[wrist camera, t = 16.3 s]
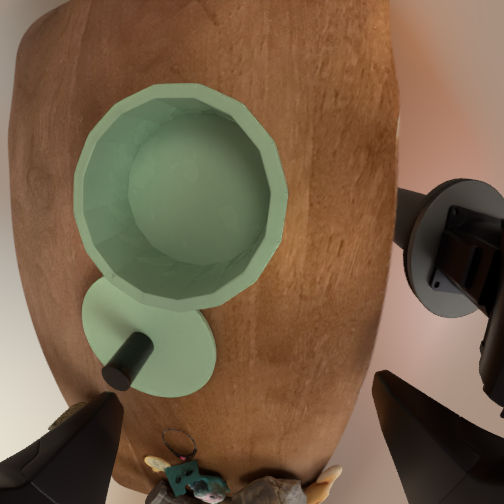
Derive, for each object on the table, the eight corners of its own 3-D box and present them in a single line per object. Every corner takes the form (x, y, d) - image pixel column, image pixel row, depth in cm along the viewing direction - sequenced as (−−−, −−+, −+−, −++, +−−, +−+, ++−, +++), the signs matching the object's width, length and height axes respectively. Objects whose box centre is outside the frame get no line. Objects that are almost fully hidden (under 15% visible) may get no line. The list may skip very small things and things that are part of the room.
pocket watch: (146, 451, 31) (145, 454, 30) (173, 462, 31) (172, 465, 30) (143, 466, 32) (142, 468, 32) (167, 476, 33) (166, 478, 32)
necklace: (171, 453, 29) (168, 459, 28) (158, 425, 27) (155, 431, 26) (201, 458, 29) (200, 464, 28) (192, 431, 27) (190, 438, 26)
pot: (297, 112, 17) (302, 91, 11) (272, 285, 21) (266, 329, 15) (130, 104, 18) (82, 91, 12) (121, 258, 22) (78, 287, 16)
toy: (291, 510, 31) (263, 501, 32) (354, 460, 27) (320, 450, 28) (287, 525, 28) (258, 516, 29) (353, 479, 24) (317, 470, 25)
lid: (185, 250, 21) (149, 283, 15) (238, 385, 24) (225, 437, 18) (68, 282, 23) (26, 311, 17) (125, 390, 26) (100, 428, 21)
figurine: (218, 525, 19) (261, 523, 23) (218, 454, 26) (258, 463, 30) (151, 515, 23) (194, 519, 27) (156, 459, 30) (195, 469, 34)
